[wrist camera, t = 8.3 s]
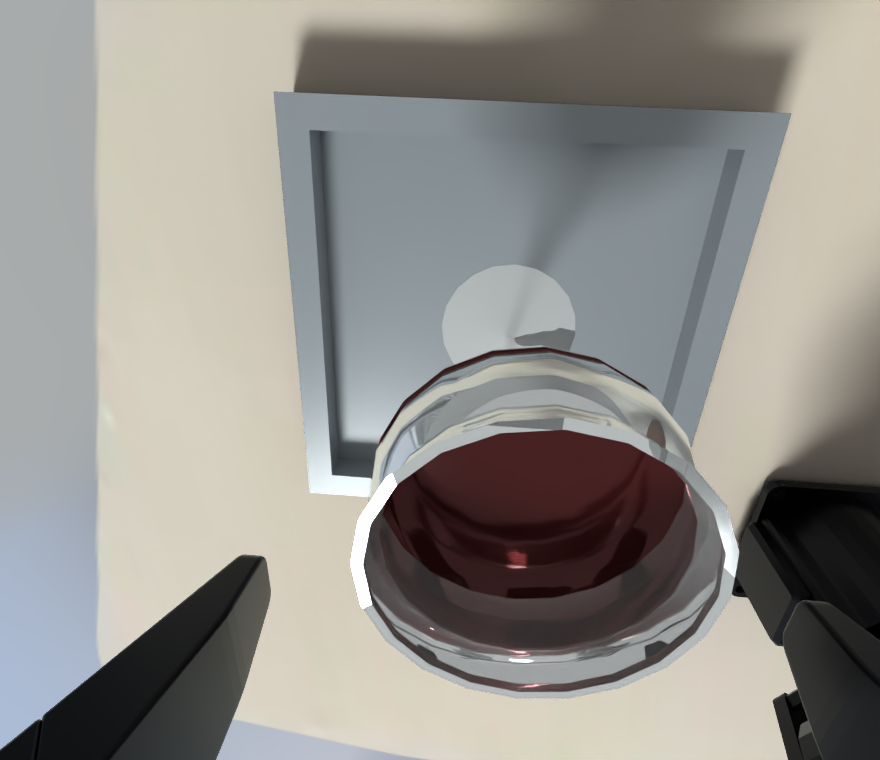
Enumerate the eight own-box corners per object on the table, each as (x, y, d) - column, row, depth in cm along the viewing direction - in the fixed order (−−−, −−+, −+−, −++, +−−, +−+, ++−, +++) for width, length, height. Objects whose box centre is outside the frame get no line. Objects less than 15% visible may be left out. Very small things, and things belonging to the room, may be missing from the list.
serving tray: (762, 113, 17) (791, 113, 15) (656, 492, 24) (669, 520, 22) (292, 93, 18) (273, 91, 16) (321, 467, 24) (309, 492, 23)
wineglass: (550, 431, 22) (615, 736, 11) (394, 373, 21) (306, 640, 11) (635, 281, 19) (835, 503, 8) (457, 208, 18) (423, 348, 8)
